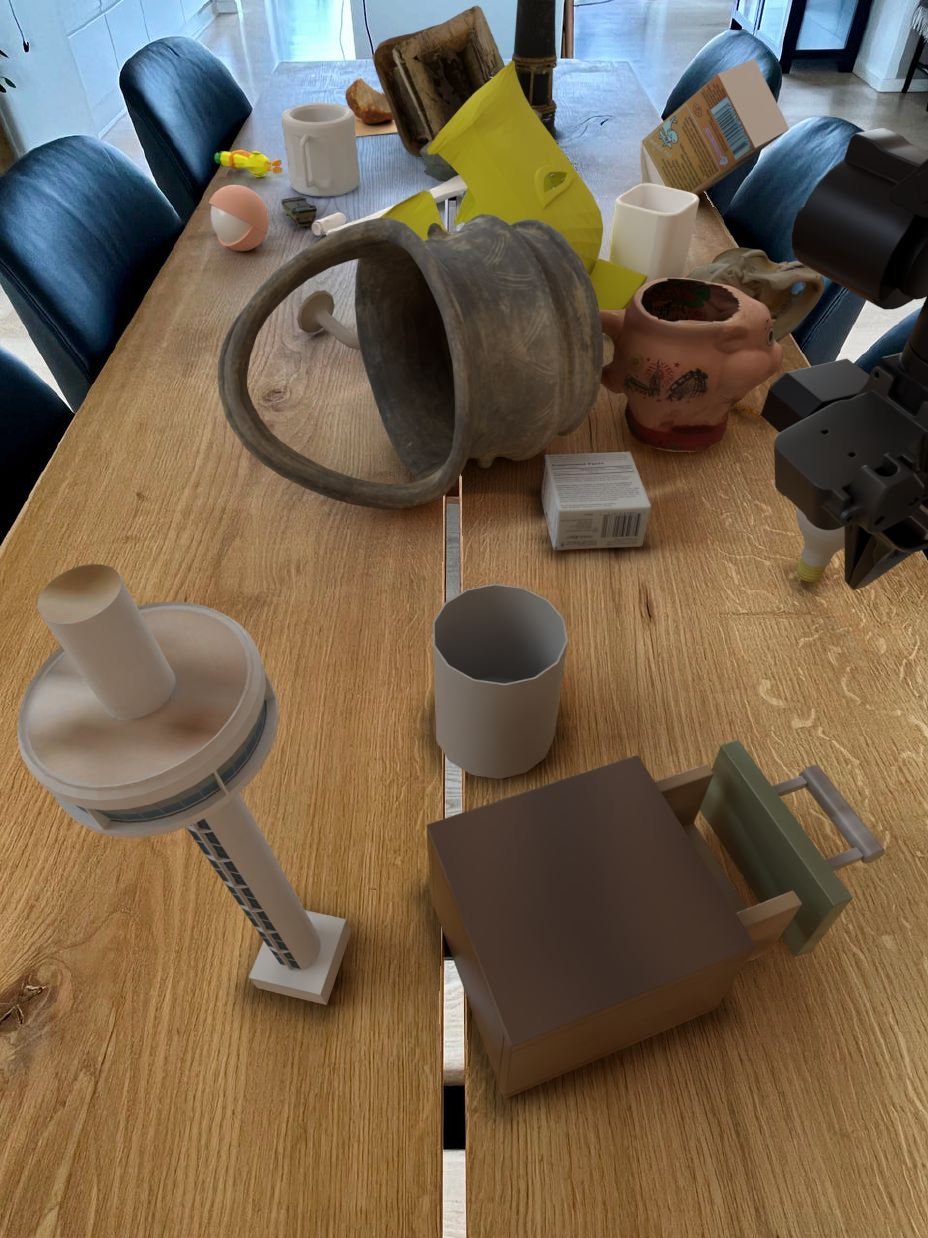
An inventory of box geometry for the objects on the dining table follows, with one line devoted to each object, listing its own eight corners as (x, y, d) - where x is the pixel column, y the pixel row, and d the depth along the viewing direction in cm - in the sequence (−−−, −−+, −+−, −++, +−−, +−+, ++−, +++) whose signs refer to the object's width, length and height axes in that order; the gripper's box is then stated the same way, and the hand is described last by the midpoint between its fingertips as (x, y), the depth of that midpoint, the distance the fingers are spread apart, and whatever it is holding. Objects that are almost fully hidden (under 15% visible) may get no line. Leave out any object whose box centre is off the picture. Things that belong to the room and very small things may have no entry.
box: (644, 549, 71) (624, 490, 77) (652, 506, 68) (630, 449, 74) (552, 552, 71) (539, 493, 77) (556, 510, 68) (542, 451, 74)
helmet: (521, 105, 97) (659, 317, 94) (356, 225, 100) (485, 432, 98) (505, 6, 81) (670, 257, 79) (310, 152, 85) (462, 397, 82)
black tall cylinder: (550, 125, 150) (566, -93, 128) (560, 141, 144) (579, -85, 122) (501, 126, 149) (508, -93, 128) (509, 143, 143) (518, -84, 121)
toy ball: (203, 247, 114) (190, 185, 108) (251, 231, 117) (240, 170, 112) (236, 265, 110) (224, 202, 104) (284, 248, 113) (275, 187, 108)
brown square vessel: (367, 110, 125) (331, 141, 143) (499, 185, 137) (451, 205, 154) (413, -41, 122) (371, 9, 140) (544, 49, 134) (490, 84, 151)
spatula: (320, 230, 114) (325, 248, 116) (339, 230, 112) (344, 249, 113) (458, 170, 128) (462, 187, 129) (478, 169, 125) (481, 187, 127)
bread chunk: (416, 130, 147) (381, 72, 139) (365, 170, 150) (328, 115, 142) (400, 103, 157) (367, 48, 149) (352, 142, 159) (317, 89, 152)
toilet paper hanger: (343, 379, 93) (345, 339, 89) (297, 339, 96) (296, 298, 92) (497, 308, 106) (506, 269, 101) (452, 273, 108) (458, 235, 104)
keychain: (766, 418, 85) (767, 409, 84) (760, 423, 84) (761, 414, 83) (701, 393, 89) (702, 384, 88) (695, 397, 89) (696, 389, 88)
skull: (842, 222, 86) (751, 212, 94) (719, 293, 81) (634, 276, 89) (837, 328, 93) (753, 310, 102) (724, 400, 88) (645, 375, 96)
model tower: (207, 1018, 46) (-129, 681, 23) (266, 876, 51) (39, 492, 29) (349, 1055, 44) (132, 727, 21) (396, 903, 49) (260, 515, 27)
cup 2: (678, 328, 98) (705, 195, 87) (649, 354, 94) (673, 217, 83) (623, 311, 101) (642, 180, 90) (593, 335, 97) (609, 200, 86)
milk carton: (789, 128, 118) (687, 205, 134) (754, 57, 116) (654, 143, 131) (755, 147, 112) (652, 225, 128) (717, 73, 110) (618, 161, 126)
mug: (303, 170, 133) (294, 98, 126) (368, 175, 132) (363, 103, 125) (274, 201, 124) (262, 126, 117) (343, 207, 123) (336, 132, 116)
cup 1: (489, 801, 55) (494, 708, 47) (411, 723, 59) (404, 627, 52) (578, 731, 58) (595, 635, 51) (498, 663, 63) (503, 566, 55)
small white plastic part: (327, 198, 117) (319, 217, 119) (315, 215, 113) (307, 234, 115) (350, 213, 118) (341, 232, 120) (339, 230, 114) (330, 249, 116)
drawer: (776, 777, 55) (808, 715, 50) (883, 921, 48) (931, 866, 43) (549, 857, 51) (559, 798, 46) (631, 1027, 44) (653, 979, 39)
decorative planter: (558, 462, 80) (572, 325, 70) (554, 393, 88) (567, 262, 78) (768, 469, 79) (814, 331, 69) (745, 399, 88) (782, 267, 77)
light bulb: (759, 566, 70) (794, 469, 63) (811, 549, 72) (851, 453, 64) (801, 609, 67) (843, 512, 59) (855, 590, 68) (902, 493, 61)
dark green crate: (277, 198, 121) (280, 216, 122) (292, 210, 115) (295, 229, 117) (302, 194, 122) (304, 213, 124) (318, 206, 116) (321, 225, 118)
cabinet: (617, 831, 53) (638, 754, 47) (716, 1009, 46) (757, 946, 39) (430, 897, 50) (425, 824, 44) (504, 1100, 43) (511, 1047, 36)
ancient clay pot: (621, 205, 62) (225, 281, 51) (612, 489, 75) (297, 594, 65) (478, 179, 78) (156, 232, 68) (492, 415, 92) (225, 490, 81)
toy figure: (293, 175, 133) (237, 165, 138) (291, 150, 131) (234, 141, 136) (265, 182, 129) (207, 172, 133) (262, 156, 127) (204, 146, 131)
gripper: (717, 292, 43) (661, 522, 55) (993, 510, 32) (849, 744, 43) (888, 259, 46) (801, 484, 58) (1199, 447, 34) (1012, 682, 46)
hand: (855, 584), depth 51 cm, fingers closed
